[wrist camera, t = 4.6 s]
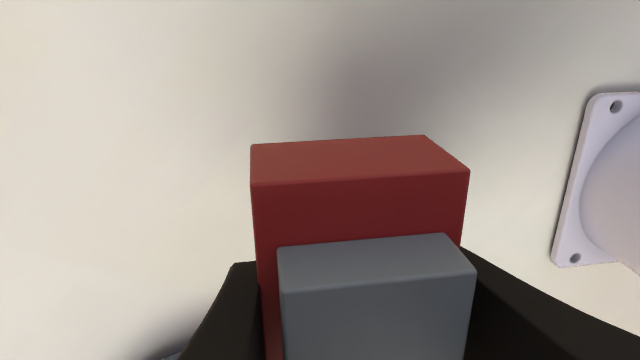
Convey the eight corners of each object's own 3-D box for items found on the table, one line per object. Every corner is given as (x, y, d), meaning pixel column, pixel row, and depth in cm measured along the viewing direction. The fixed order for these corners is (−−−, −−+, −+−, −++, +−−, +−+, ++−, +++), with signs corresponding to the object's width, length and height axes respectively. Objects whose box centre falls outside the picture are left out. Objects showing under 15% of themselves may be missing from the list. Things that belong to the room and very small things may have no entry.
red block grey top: (415, 127, 11) (514, 200, 7) (398, 337, 13) (461, 479, 9) (250, 136, 10) (248, 221, 6) (267, 353, 13) (274, 512, 9)
